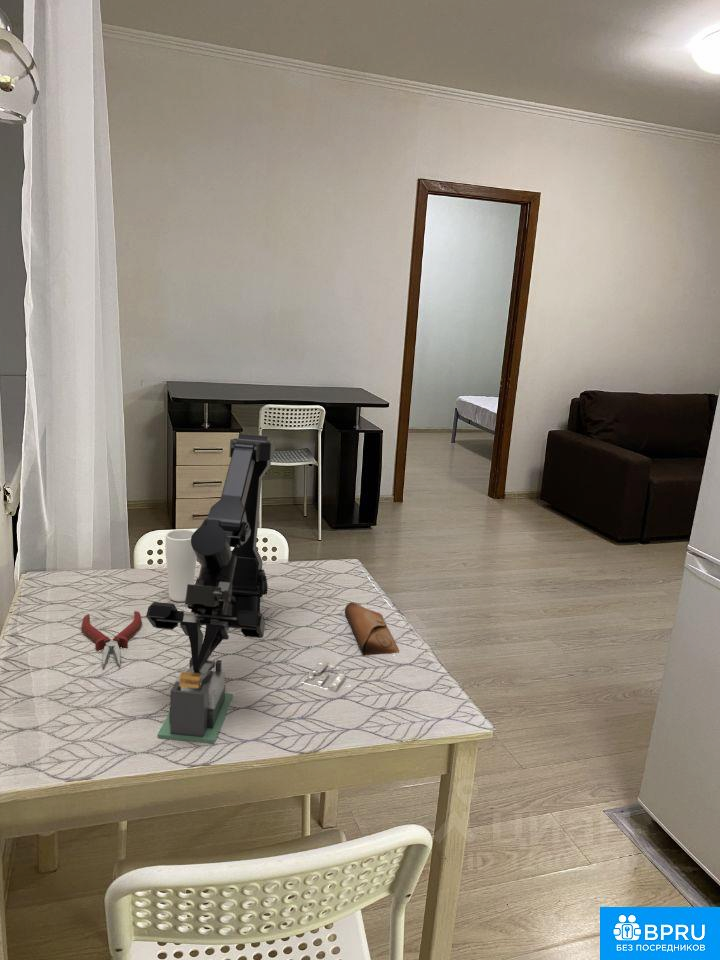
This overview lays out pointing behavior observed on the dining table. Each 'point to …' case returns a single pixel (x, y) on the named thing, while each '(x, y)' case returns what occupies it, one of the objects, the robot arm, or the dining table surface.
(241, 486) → the robot arm
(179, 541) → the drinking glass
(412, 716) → the dining table surface
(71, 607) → the dining table surface
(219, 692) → the heat sink
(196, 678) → the grey hinged lever
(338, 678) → the clear plastic blister pack
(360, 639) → the sunglasses case
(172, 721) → the socket board
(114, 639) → the pliers
